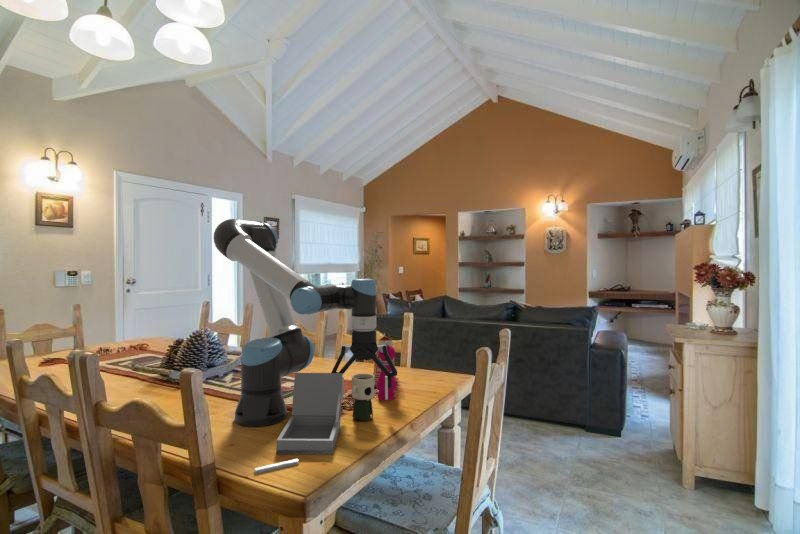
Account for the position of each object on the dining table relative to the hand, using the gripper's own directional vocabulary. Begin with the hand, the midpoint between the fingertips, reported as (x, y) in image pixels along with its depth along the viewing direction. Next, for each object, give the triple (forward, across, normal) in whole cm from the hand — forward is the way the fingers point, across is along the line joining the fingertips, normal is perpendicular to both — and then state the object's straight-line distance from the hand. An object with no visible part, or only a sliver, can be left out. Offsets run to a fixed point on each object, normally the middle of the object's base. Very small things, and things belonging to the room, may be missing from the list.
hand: (364, 398), depth 134 cm
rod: (+7, -18, -31) cm, 37 cm away
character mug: (+6, 0, 0) cm, 6 cm away
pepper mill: (+6, +6, +20) cm, 22 cm away
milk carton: (+6, +6, +39) cm, 40 cm away
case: (+6, -14, -14) cm, 20 cm away
